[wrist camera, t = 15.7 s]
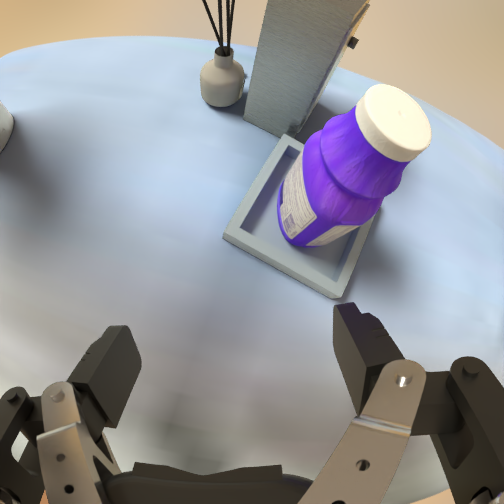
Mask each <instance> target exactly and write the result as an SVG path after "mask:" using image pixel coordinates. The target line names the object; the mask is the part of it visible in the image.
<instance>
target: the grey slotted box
mask: <svg viewBox="0 0 504 504" xmlns="http://www.w3.org/2000/svg"><path fill="white" fill-rule="evenodd" d="M369 1H370V0H268V3H267V6H266V11H265V16H264V20H263V24H262V29H261V33H260V38H259V42H258V47H257V52H256V56H255V61H254V66H253V71H252V76H251V81H250V86H249V91H248V96H247V101H246V106H245V111H244V117H243V119H244V120H246V121H248V122H250V123H252V124H254V125H256V126H258V127H260V128H262V129H264V130H266V131H268V132H269V133H271V134H273V135H275V136H277V137H279V138H281V137H282V136H283V134H286V135H288V136H290V137H291V138H293V139H294V137H295V136H296V134H297V132H298V133H299V132H300V130H301V129H302V127H303V125H304V124H305V122H306V121H307V119H308V117H309V116H310V114H311V112H312V111H313V109H314V107H315V106H316V104H317V102H318V101H319V99H320V97H321V95H322V94H323V92H324V90H325V88H326V86H327V84H328V82H329V80H330V78H331V77H332V75H333V73H334V71H335V69H336V67H337V65H338V63H339V61H340V59H341V58H342V56H343V54H344V52H345V50H346V48H347V47H350V48H352V49H354V48H355V46H356V44H357V42H358V41H359V40H358V39H356V38H355V37H353V36H354V34H355V32H356V30H357V28H358V26H359V24H360V22H361V21H362V19H363V17H364V15H365V13H366V12H367V10H368V8H369V6H370V5H369V4H368V3H369Z"/></svg>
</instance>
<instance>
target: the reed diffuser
mask: <svg viewBox="0 0 504 504" xmlns="http://www.w3.org/2000/svg"><path fill="white" fill-rule="evenodd" d="M202 1H203V3H204V6H205V9H206V11H207V14H208V16H209V19H210V21H211V24H212V27H213V29H214V32H215V34H216V37H217V39H218V43H219V45H220V47H218V48H217V49H216V50H215V56H214V59H212V60H210V61H208V62H207V63H206V64H205V65H204V66H203V67H202V69H201V73H200V86H201V95H202V98H203V100H204V101H205V102H207V103H208V104H210V105H212V106H217V107H225V106H229V105H232V104H234V103H235V102H236V101H237V100H239V99H240V98H241V96H242V92H243V87H244V83H245V79H244V70H243V67H242V66H241V65H240V64H239V63H238V62H237V61H235V60H233V54H234V51H233V49H232V48H230V39H231V29H232V21H233V11H234V3H235V0H232V4H231V14H230V0H226V10H227V46H223V28H222V0H218V12H219V32H220V37H219V35H218V32H217V29H216V27H215V24H214V21H213V18H212V16H211V13H210V11H209V8H208V5H207V3H206V0H202ZM243 81H244V83H243ZM242 85H243V87H242Z"/></svg>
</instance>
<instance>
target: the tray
mask: <svg viewBox="0 0 504 504" xmlns="http://www.w3.org/2000/svg"><path fill="white" fill-rule="evenodd" d="M303 147H304V144H302V143H300V142H299V141H297V140H295V139H293V138H291V137H290V136H288V135H286V134H283V136H282V137H281V139H280V140H279V142H278V143H277V145H276V147H275V148H274V150H273V151H272V153H271V155H270V156H269V158H268V159H267V161H266V163H265V164H264V166H263V167H262V169H261V171H260V172H259V174H258V176H257V177H256V179H255V180H254V182H253V184H252V185H251V187H250V189H249V190H248V192H247V194H246V195H245V197H244V198H243V200H242V202H241V203H240V205H239V207H238V208H237V210H236V212H235V213H234V215H233V217H232V218H231V220H230V222H229V224H228V225H227V227H226V229H225V230H224V233H223V239H225V240H226V241H228V242H230V243H232V244H234V245H235V246H237V247H239V248H241V249H243V250H244V251H246V252H248V253H250V254H251V255H253V256H255V257H257V258H259V259H260V260H262V261H264V262H266V263H268V264H269V265H271V266H273V267H275V268H277V269H278V270H280V271H282V272H284V273H285V274H287V275H289V276H291V277H293V278H294V279H296V280H298V281H300V282H302V283H303V284H305V285H307V286H309V287H311V288H312V289H314V290H316V291H318V292H320V293H321V294H323V295H325V296H327V297H329V298H330V299H332V298H341V297H342V294H343V292H344V290H345V288H346V286H347V283H348V281H349V279H350V276H351V274H352V272H353V269H354V267H355V265H356V262H357V260H358V257H359V255H360V252H361V250H362V247H363V245H364V242H365V240H366V237H367V235H368V232H369V230H370V227H371V224H372V222H373V219H374V216H375V215H374V216H373V217H372V218H371V219H370V220H368V221H367V222H366V223H364V224H363V225H361V226H359V227H357V228H355V229H354V230H352V231H350V232H348V233H346V234H344V235H343V236H341V237H339V238H337V239H335V240H333V241H331V242H330V243H328V244H326V245H322V246H318V247H315V248H304V247H301V246H296V245H293V244H291V243H289V242H288V241H287V240H286V239H285V238H284V236H283V235H282V232H281V230H280V227H279V223H278V216H277V198H278V192H279V188H280V185H281V183H282V182H283V181H284V179H285V178H286V176H287V174H288V173H289V171H290V169H291V168H292V166H293V164H294V163H295V161H296V159H297V158H298V156H299V154H300V152H301V151H302V149H303Z"/></svg>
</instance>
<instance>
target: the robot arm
mask: <svg viewBox="0 0 504 504" xmlns="http://www.w3.org/2000/svg"><path fill="white" fill-rule="evenodd" d="M13 121H14V120H13V116H12V115H11V114H10V113H9V111H8V110H7V109H6V108H5V107H4V105H3V104H2V103H1V102H0V152H1V151H2V150H3V148H4V147H5V145H6V143H7V142H8V139H9V137H10V135H11V132H12V129H13ZM333 347H334V352H335V355H336V358H337V361H338V363H339V366H340V369H341V371H342V374H343V377H344V380H345V382H346V385H347V388H348V391H349V393H350V396H351V399H352V402H353V405H354V407H355V410H356V413H357V416H358V417H357V416H356V417H355V418H354V419H353V421H352V422H351V424H350V426H349V427H348V429H347V431H346V433H345V434H344V436H343V438H342V439H341V441H340V443H339V444H338V446H337V447H336V449H335V451H334V452H333V454H332V455H331V457H330V459H329V460H328V462H327V463H326V465H325V466H324V468H323V469H322V471H321V472H320V473H319V475H318V476H317V478H316V479H315V481H312V480H310V479H307V478H304V477H300V476H295V475H290V474H283V473H282V466H281V465H273V466H261V467H243V468H238V469H234V470H230V471H225V472H221V473H216V474H210V475H204V476H203V475H197V474H193V473H189V472H186V471H182V470H179V469H176V468H173V467H169V466H164V465H155V464H146V463H139V462H135V463H134V467H133V470H132V471H129V472H123V473H122V472H121V470H120V469H119V467H118V464H117V462H116V460H115V458H114V455H113V453H112V451H111V448H110V446H109V443H108V441H107V438H106V436H105V434H104V433H103V432H102V431H103V429H104V427H109V428H116V427H117V425H118V422H119V420H120V418H121V415H122V413H123V410H124V408H125V405H126V403H127V401H128V398H129V396H130V393H131V391H132V389H133V386H134V384H135V382H136V379H137V377H138V375H139V373H140V370H141V357H140V354H139V351H138V349H137V346H136V344H135V341H134V339H133V336H132V334H131V331H130V329H129V327H128V326H126V325H121V326H109V327H108V328H107V329H106V331H105V332H104V334H103V335H102V337H101V338H99V339H98V340H97V341H95V342H94V343H93V344H92V345H91V346H90V347H89V349H88V350H87V351H86V354H84V356H83V357H82V359H81V361H80V362H79V363H78V365H77V366H76V367H75V369H74V370H73V372H72V373H71V375H70V376H69V378H68V379H67V381H66V382H63V381H62V382H56V383H54V384H52V385H50V386H49V387H47V388H46V389H45V391H44V392H43V394H42V396H38V397H30V396H29V395H28V393H27V392H26V390H25V389H24V388H23V387H14V388H11V389H9V390H8V391H7V392H6V393H5V394H4V395H3V396H2V398H1V399H0V504H40V501H41V498H42V495H43V493H44V490H46V495H47V499H48V503H49V504H380V503H381V501H382V499H383V497H384V495H385V493H386V491H387V489H388V487H389V485H390V482H391V480H392V478H393V476H394V474H395V471H396V469H397V467H398V465H399V462H400V460H401V457H402V455H403V452H404V450H405V447H406V445H407V442H408V439H409V436H415V435H430V437H431V439H432V442H433V444H434V447H435V449H436V452H437V454H438V457H439V459H440V462H441V464H442V467H443V470H444V472H445V475H446V478H447V481H448V483H449V486H450V489H451V492H452V495H453V498H454V501H455V504H504V388H503V386H502V385H501V383H500V382H499V381H498V379H497V378H496V377H495V375H494V374H493V373H492V371H491V370H490V369H489V367H488V366H487V365H486V364H485V363H484V362H483V361H482V360H480V359H478V358H475V357H469V356H467V357H461V358H458V359H457V360H455V361H454V362H453V364H452V366H451V368H450V371H441V372H425V370H424V368H423V367H422V366H421V365H420V364H418V363H416V362H414V361H411V360H405V358H404V356H403V355H402V353H401V352H400V350H399V349H398V347H397V346H396V344H395V343H394V341H393V340H392V338H391V337H390V336H389V334H388V332H387V331H386V329H384V326H383V325H382V323H381V322H380V320H379V319H378V318H376V317H375V316H373V315H372V314H370V313H364V314H361V312H360V311H359V309H358V308H357V306H356V304H355V303H354V302H351V303H345V304H339V305H334V308H333ZM20 431H21V432H22V434H23V435H24V436H25V437H26V438H27V439H28V440H29V441H28V443H27V445H26V447H25V449H24V452H23V454H22V456H21V458H20V460H19V462H17V461H16V460H15V459H14V457H13V456H12V453H11V447H12V445H13V443H14V441H15V439H16V437H17V435H18V433H19V432H20Z"/></svg>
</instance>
